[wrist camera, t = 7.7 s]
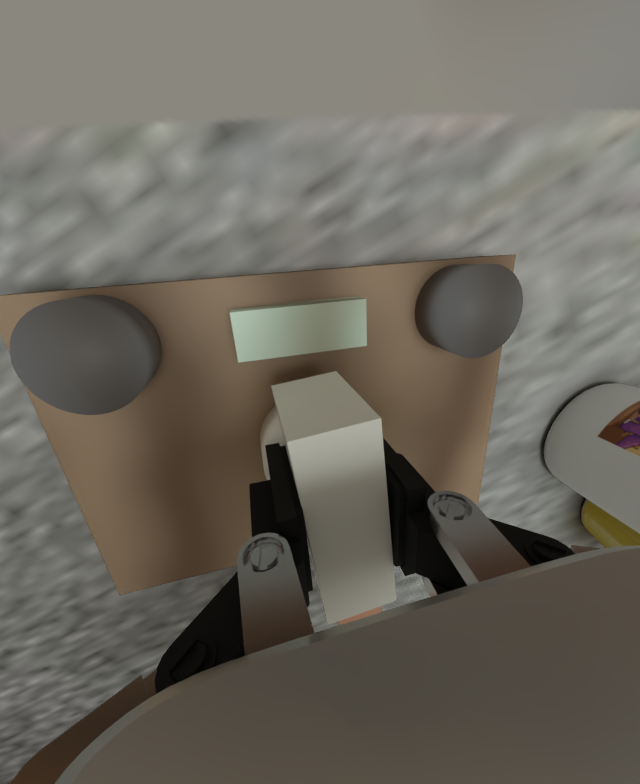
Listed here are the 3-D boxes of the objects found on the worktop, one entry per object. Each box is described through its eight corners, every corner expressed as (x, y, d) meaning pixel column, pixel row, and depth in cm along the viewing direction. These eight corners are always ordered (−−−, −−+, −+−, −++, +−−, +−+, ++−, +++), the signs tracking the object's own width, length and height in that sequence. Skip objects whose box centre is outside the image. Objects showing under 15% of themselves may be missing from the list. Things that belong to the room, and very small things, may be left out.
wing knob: (241, 374, 13) (244, 453, 7) (345, 352, 13) (417, 408, 8) (283, 531, 16) (306, 664, 11) (364, 506, 17) (424, 619, 11)
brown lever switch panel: (131, 560, 17) (103, 638, 14) (22, 292, 12) (-72, 303, 8) (457, 484, 21) (502, 529, 17) (483, 256, 16) (557, 252, 12)
